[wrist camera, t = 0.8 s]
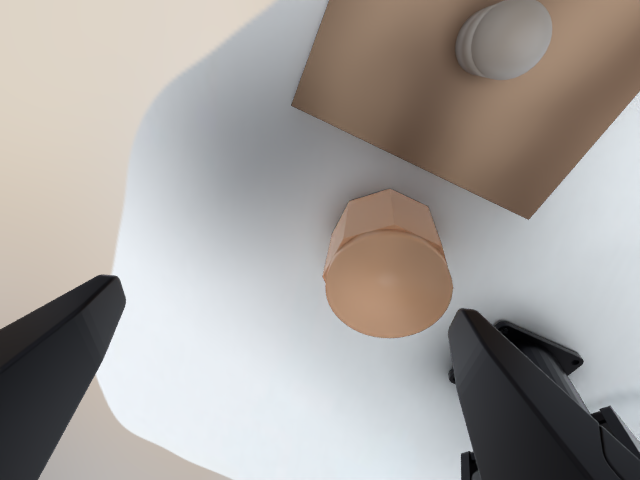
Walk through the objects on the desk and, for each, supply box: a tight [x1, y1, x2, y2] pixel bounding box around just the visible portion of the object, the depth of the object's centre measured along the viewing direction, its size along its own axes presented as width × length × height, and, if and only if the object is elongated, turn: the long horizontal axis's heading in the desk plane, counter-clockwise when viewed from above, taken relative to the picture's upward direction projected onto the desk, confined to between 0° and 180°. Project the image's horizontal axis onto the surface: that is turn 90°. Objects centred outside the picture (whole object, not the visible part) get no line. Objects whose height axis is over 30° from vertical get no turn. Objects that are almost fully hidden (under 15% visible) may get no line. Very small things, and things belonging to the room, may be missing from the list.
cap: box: [322, 189, 453, 338], centre depth 19 cm, size 6×6×6 cm
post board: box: [291, 0, 640, 220], centre depth 13 cm, size 14×12×5 cm
